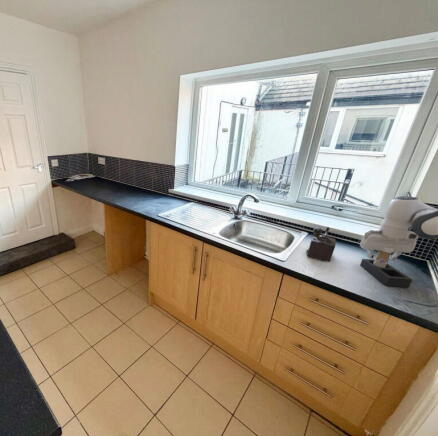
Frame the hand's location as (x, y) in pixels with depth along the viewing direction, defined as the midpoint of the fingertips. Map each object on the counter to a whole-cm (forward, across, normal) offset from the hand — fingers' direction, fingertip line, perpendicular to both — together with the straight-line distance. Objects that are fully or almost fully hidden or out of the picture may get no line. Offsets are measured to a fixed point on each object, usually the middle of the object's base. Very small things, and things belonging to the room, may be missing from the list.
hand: (380, 258), depth 114 cm
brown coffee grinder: (+7, -21, +10) cm, 24 cm away
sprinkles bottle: (+7, 0, 0) cm, 7 cm away
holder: (+7, 0, -4) cm, 8 cm away
